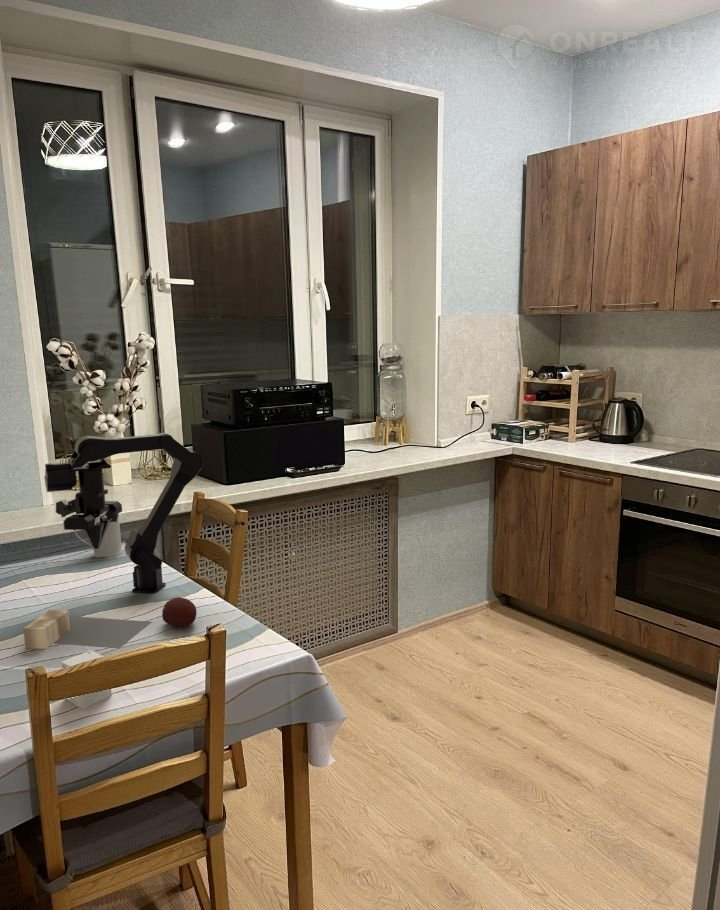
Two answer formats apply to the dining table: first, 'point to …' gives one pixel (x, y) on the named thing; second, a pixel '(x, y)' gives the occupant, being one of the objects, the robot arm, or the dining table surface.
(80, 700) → the product box
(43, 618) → the birch block
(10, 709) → the dining table surface
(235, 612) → the dining table surface
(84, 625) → the charcoal rubber mat
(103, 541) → the glass holder
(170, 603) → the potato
